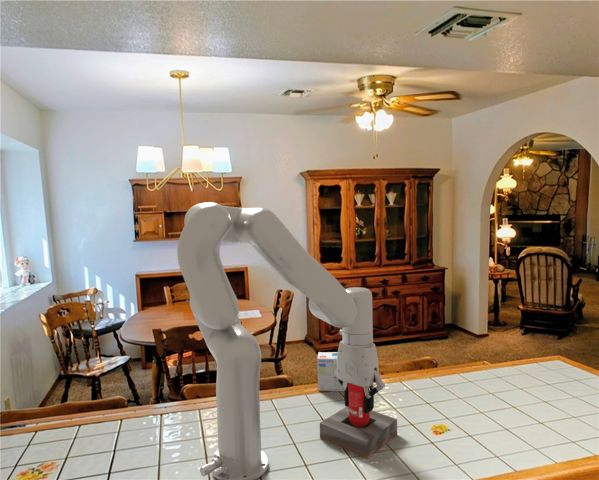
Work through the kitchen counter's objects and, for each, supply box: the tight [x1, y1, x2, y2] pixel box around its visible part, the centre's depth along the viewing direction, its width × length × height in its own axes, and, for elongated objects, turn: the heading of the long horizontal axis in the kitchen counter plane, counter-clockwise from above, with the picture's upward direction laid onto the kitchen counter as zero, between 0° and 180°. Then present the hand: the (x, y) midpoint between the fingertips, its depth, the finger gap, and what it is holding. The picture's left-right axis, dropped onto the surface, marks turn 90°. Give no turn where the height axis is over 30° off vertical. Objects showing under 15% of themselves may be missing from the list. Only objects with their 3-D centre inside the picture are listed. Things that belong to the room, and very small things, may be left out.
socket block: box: [319, 406, 398, 459], centre depth 109 cm, size 14×14×4 cm
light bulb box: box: [316, 351, 344, 392], centre depth 139 cm, size 11×7×11 cm, turn 84°
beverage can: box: [348, 383, 370, 427], centre depth 108 cm, size 5×5×12 cm
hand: (358, 407), depth 108 cm, fingers closed on beverage can, 5 cm apart
